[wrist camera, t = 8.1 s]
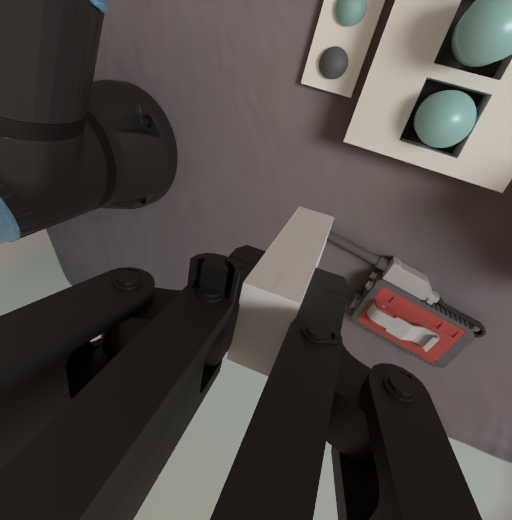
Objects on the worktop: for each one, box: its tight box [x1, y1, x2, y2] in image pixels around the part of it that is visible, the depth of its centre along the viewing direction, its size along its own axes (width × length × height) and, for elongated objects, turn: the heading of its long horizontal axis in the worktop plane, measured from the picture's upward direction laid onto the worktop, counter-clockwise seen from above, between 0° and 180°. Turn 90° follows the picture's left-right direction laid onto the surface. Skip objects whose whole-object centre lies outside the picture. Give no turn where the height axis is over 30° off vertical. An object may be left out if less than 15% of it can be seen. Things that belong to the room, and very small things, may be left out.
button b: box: [451, 0, 512, 67], centre depth 23 cm, size 4×4×4 cm
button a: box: [413, 90, 477, 148], centre depth 28 cm, size 4×4×4 cm
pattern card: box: [301, 0, 386, 98], centre depth 29 cm, size 5×13×1 cm, turn 166°
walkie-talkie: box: [327, 231, 486, 368], centre depth 37 cm, size 9×4×20 cm
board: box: [343, 0, 512, 193], centre depth 26 cm, size 14×20×3 cm
